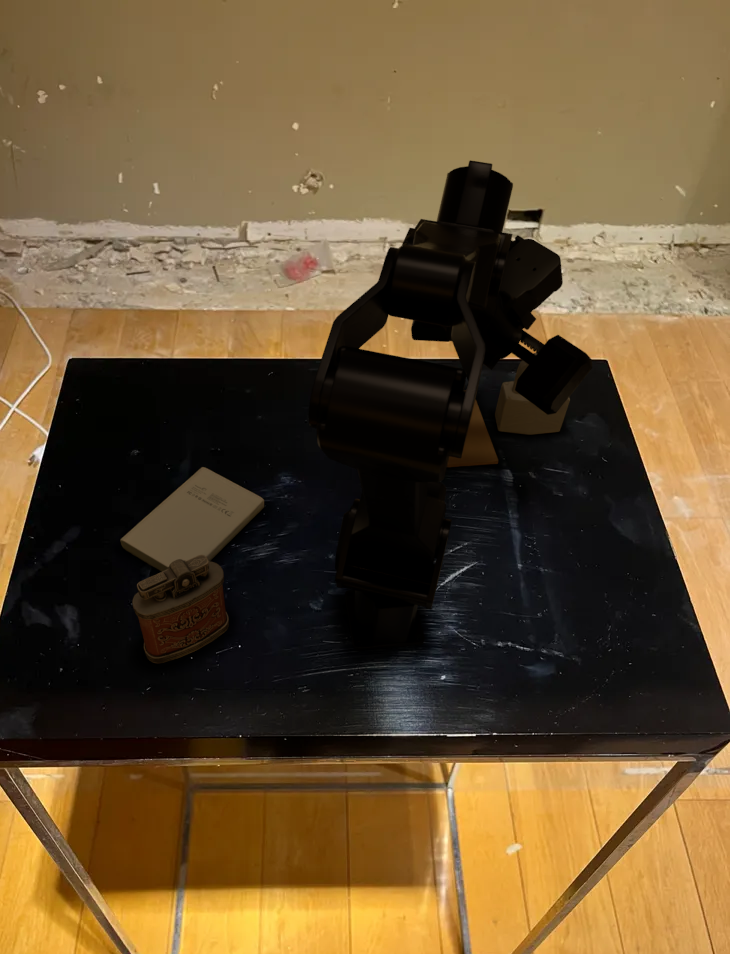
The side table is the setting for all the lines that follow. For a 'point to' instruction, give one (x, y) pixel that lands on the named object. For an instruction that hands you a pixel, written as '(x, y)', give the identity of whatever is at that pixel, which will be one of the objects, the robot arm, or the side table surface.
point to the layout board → (476, 444)
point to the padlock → (524, 411)
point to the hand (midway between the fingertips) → (526, 363)
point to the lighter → (181, 608)
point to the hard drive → (193, 521)
